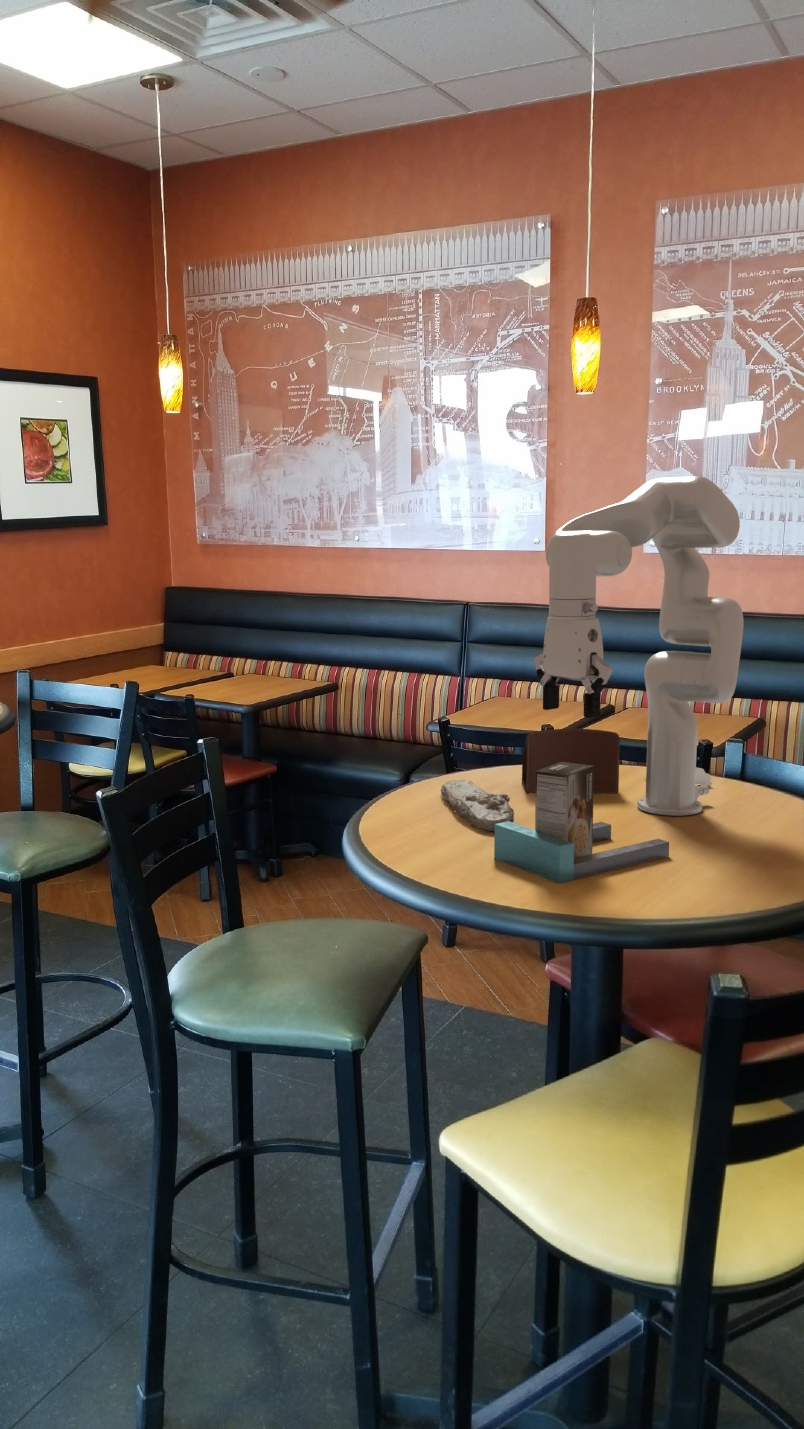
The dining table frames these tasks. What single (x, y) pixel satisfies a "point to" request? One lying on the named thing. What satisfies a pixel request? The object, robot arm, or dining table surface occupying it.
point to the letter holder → (573, 755)
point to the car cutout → (702, 777)
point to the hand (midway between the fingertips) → (570, 712)
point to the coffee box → (566, 804)
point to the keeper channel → (567, 852)
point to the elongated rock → (477, 804)
